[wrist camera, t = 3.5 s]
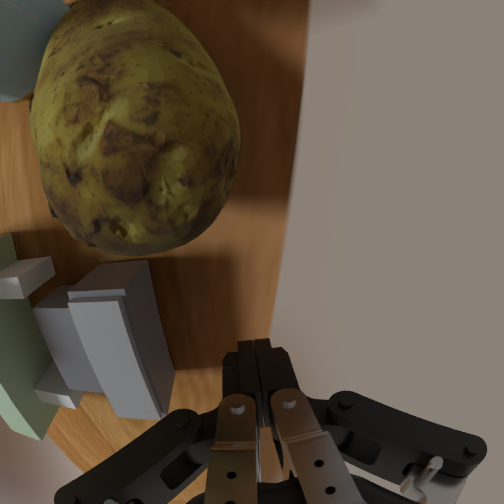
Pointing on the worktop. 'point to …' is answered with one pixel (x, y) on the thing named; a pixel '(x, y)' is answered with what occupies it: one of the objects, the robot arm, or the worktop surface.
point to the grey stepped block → (111, 338)
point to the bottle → (25, 43)
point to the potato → (132, 128)
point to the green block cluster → (27, 349)
